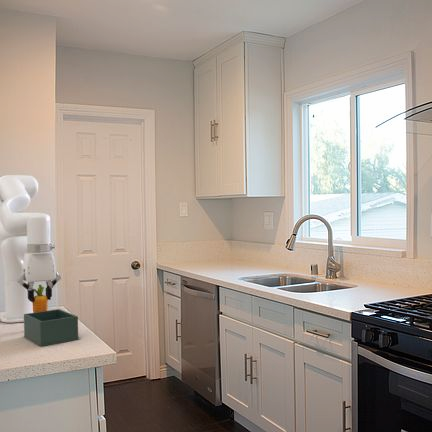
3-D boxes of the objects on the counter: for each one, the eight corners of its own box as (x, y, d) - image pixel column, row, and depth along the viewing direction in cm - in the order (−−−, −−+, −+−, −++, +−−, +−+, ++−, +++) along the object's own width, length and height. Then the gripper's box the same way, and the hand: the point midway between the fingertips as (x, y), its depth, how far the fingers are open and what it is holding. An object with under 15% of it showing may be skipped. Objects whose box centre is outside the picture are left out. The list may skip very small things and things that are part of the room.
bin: (24, 336, 179) (23, 314, 179) (60, 330, 187) (59, 309, 187) (40, 346, 167) (40, 322, 167) (78, 339, 175) (77, 316, 174)
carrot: (42, 329, 188) (41, 286, 187) (29, 328, 189) (28, 286, 188) (51, 326, 193) (50, 284, 192) (38, 325, 194) (38, 283, 193)
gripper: (60, 246, 198) (60, 295, 199) (9, 249, 187) (10, 302, 187) (67, 248, 192) (68, 298, 193) (16, 251, 181) (17, 305, 182)
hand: (40, 299), depth 190 cm, fingers closed on carrot, 4 cm apart
